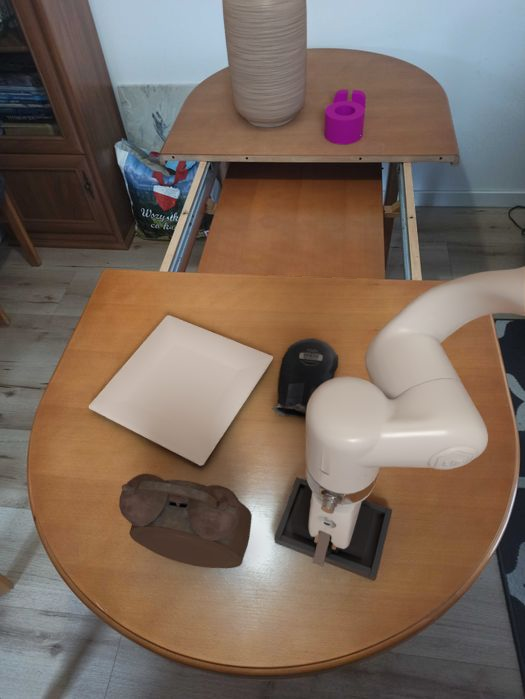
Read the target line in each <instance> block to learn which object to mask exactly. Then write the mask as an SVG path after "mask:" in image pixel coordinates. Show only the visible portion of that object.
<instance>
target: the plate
mask: <svg viewBox="0 0 525 699" xmlns="http://www.w3.org/2000/svg"><path fill="white" fill-rule="evenodd" d="M273 359H274V356H273V355H271V354H268V353H266V352H263V351H260V350H258V349H256V348H253V347H251V346H248V345H245V344H243V343H240V342H238V341H235V340H233V339H230V338H228V337H225V336H223V335H221V334H218V333H215V332H212V331H210V330H208V329H206V328H203V327H200V326H198V325H195V324H192V323H190V322H188V321H185V320H183V319H181V318H178V317H175V316H173V315H170V314H167V315H166V316H165V317H164V318H163V319H162V320H161V321H160V323H159V324H157V326H156V327H155V328H154V329H153V331H152V332H151V333H149V335H148V336H147V338H146V339H145V340H144V341H143V342H142V343H141V345H140V346H138V348H137V349H136V350H135V352H134V353H133V354H132V355H131V356H130V358H129V359H128V360H127V361H126V362H125V363H124V364H123V366H121V367H120V369H119V370H118V371H117V372H116V373H115V375H114V376H112V378H111V379H110V381H109V382H107V384H106V385H105V386H104V387H103V389H102V390H101V391H100V392H99V394H97V396H96V397H94V399H93V400H92V402H90V404H89V405H88V409H89V410H91V411H93V412H95V413H97V414H99V415H101V416H103V417H105V418H106V419H108V420H110V421H112V422H115V423H116V424H118V425H121V426H122V427H124V428H126V429H128V430H130V431H131V432H134V433H135V434H138V435H140V436H142V437H143V438H146V439H148V440H149V441H151V442H153V443H155V444H157V445H159V446H161V447H163V448H165V449H167V450H169V451H171V452H173V453H175V454H177V455H179V456H180V457H183V458H185V459H186V460H188V461H191V462H192V463H194V464H196V465H198V466H204V465H205V463H206V461H207V460H208V458H209V457H210V455H211V454H212V452H213V451H214V449H215V448H216V447H217V445H218V444H219V441H220V440H221V439H222V437H223V436H224V434H225V433H226V431H227V429H228V428H229V427H230V425H231V424H232V422H233V420H234V419H235V418H236V417H237V415H238V414H239V411H240V410H241V408H242V407H243V405H244V403H245V402H246V401H247V399H248V397H249V396H250V395H251V393H252V391H253V390H254V388H255V387H256V385H258V383H259V381H260V379H261V378H262V377H263V375H264V374H265V372H266V370H267V369H268V367H269V366H270V364H271V363H272V362H273Z"/></svg>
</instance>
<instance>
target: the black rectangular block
mask: <svg viewBox="0 0 525 699" xmlns="http://www.w3.org/2000/svg"><path fill="white" fill-rule="evenodd" d="M311 497H312V490H311V488H310V487H308V486H305V488H304V491H303V494H302V497H301V500H300V502H299V505H298V508H297V511H296V514H295V517H294V519H293V522H292V533H295V534H297V535H300V536H303V537H305V538H308V539H311V540H313V541H314V538H315V537H312V536H311V535H310V533H309V513H310V505H311V503H310V501H311ZM374 513H375V509H372V508H369V507H366V506H363V505H361V506H360V510H359V513H358V517H357V520H356V524H355V527H354V531H353V534H352V537H351V541H350V544H349V546H348V547H347V548H345V549H342V548H339V550H340V551H343V552H345V553H348V554H351V555H354V556H356V557H359V558H362V557H363V554H364V551H365V547H366V544H367V540H368V536H369V532H370V528H371V524H372V520H373V516H374Z"/></svg>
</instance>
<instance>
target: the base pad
mask: <svg viewBox="0 0 525 699" xmlns="http://www.w3.org/2000/svg"><path fill="white" fill-rule="evenodd" d="M305 486H308V487H309V484H308V482H307V479H306V478H301V477H298V476H296V478H295V480H294V482H293V486H292V489H291V491H290V494H289V497H288V500H287V502H286V505H285V508H284V510H283V513H282V515H281V518H280V521H279V524H278V527H277V529H276V532H275V534H274V538H273V539H274V544H277V545H279V546H282V547H285V548H288V549H290V550H292V551H295V552H298V553H300V554H303V555H306V556H308V557H311V558H312V559H314V555H315V549H314V547H315V544H314V541H313V540H311V539H308V538H305V537H303V536H300V535H297V534H295V533H292V522H293V519H294V517H295V514H296V511H297V508H298V505H299V502H300V500H301V497H302V494H303V491H304V488H305ZM361 505H363V506H366V507H369V508H372V509H375V513H374V516H373V520H372V524H371V528H370V532H369V536H368V540H367V544H366V547H365V551H364V554H363V557H362V558H359V557H356V556H354V555H351V554H348V553H345V552H343V551H340V550H339V551H338V553H335V552H332V551H331V555H329V556H328V557H327V556H326V559H325V562H324V563H326V564H328V565H332V566H334V567H336V568H340V569H342V570H345V571H348V572H350V573H353V574H355V575H357V576H361V577H362V578H366V579H368V580H371V581H373V582H375V581H376V579H377V577H378V572H379V569H380V564H381V560H382V556H383V551H384V547H385V542H386V538H387V533H388V530H389V525H390V523H391V522H390V521H391V518H392V513H393V509H392V508H390V507H387V506H384V505H381V504H378V503H375V502H372V501H369V500H367V499H364V500H363V501H362V502H361Z"/></svg>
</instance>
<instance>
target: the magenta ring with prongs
mask: <svg viewBox="0 0 525 699" xmlns="http://www.w3.org/2000/svg"><path fill="white" fill-rule="evenodd" d="M366 101H367V96H366V93H365V92H364V91H363V90H361V89H353V90H352V92H351V100H349V89H339V90H337V91H336V92H335V93H334V97H333V101H332V103H330V104H329V105H327V106H326V107H325V110H324V131H323V132H324V138H325V139H326V141H328V142H330V143H332V144H335V145H351V144H354V143H357V142H358V141H360V140H361V139H362V137H363V135H364V126H365V125H364V123H365V114H366V103H367V102H366ZM360 135H361V136H360Z"/></svg>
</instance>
